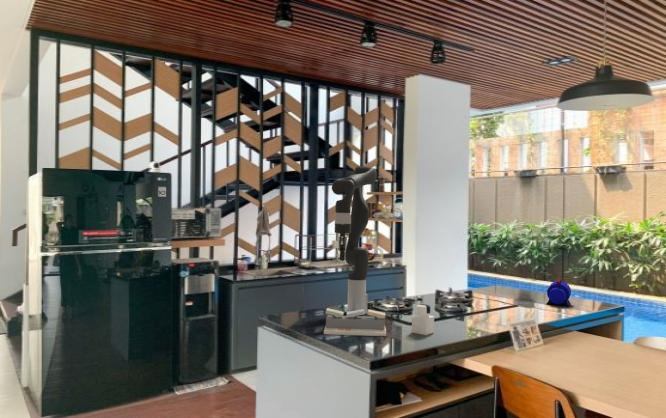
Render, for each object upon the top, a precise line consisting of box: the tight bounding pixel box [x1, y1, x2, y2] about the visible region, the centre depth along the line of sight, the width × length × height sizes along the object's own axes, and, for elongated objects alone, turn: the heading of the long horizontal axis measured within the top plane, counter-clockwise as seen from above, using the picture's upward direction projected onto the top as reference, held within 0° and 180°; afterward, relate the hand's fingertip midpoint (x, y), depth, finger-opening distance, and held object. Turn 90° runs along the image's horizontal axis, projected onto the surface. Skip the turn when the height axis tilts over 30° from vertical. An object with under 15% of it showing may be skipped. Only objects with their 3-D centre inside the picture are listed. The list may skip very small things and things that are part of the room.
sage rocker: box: [325, 307, 345, 317], centre depth 223 cm, size 8×5×2 cm, turn 86°
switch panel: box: [323, 314, 387, 337], centre depth 221 cm, size 26×13×6 cm, turn 86°
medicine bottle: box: [411, 303, 435, 336], centre depth 221 cm, size 7×7×12 cm
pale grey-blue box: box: [345, 309, 365, 318], centre depth 223 cm, size 8×5×2 cm, turn 87°
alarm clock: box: [546, 277, 572, 308], centre depth 296 cm, size 12×12×15 cm
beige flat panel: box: [366, 308, 386, 319], centre depth 222 cm, size 8×5×2 cm, turn 86°
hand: (342, 260), depth 237 cm, fingers closed
